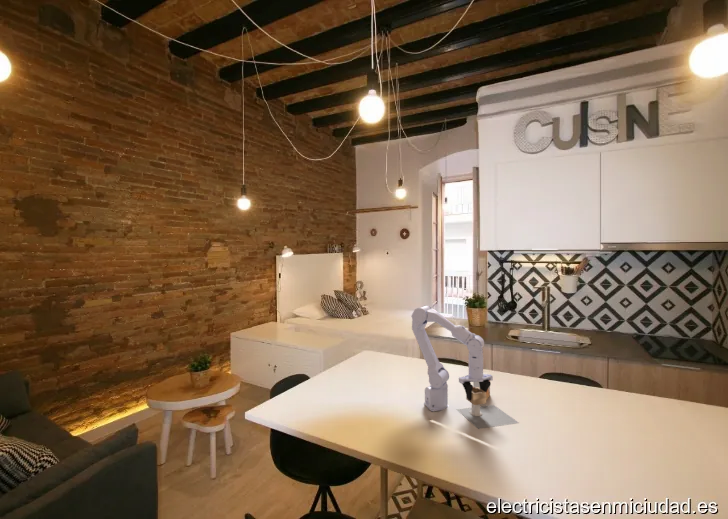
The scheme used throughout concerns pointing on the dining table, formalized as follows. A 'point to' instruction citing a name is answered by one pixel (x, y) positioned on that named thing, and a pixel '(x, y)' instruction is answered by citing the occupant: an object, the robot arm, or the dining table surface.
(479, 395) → the wooden cubby shelf
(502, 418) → the panel
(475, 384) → the small box
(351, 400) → the dining table surface
